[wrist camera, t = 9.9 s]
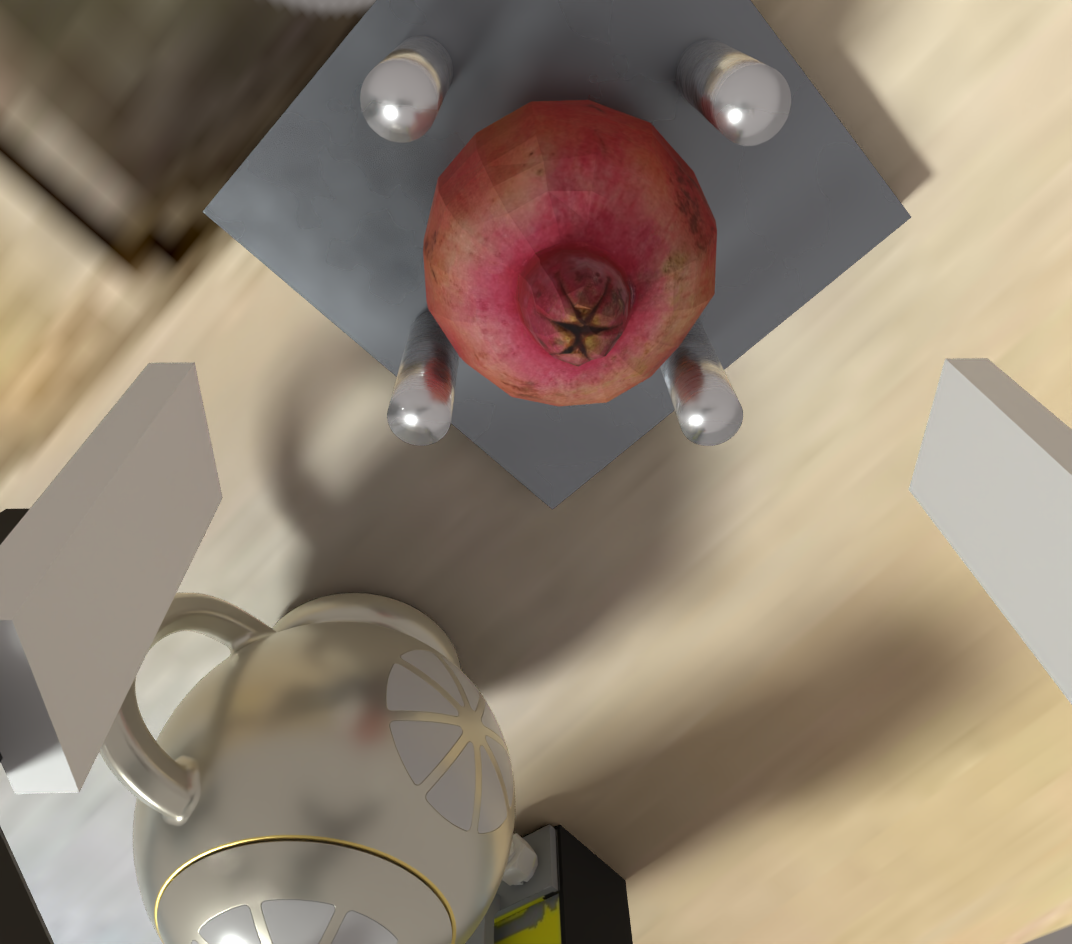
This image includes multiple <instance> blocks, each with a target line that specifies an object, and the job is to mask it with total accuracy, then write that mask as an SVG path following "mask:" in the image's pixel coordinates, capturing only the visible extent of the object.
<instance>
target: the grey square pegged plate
mask: <svg viewBox="0 0 1072 944" xmlns="http://www.w3.org/2000/svg"><path fill="white" fill-rule="evenodd" d="M564 100H590V101H593V102H596V103H599V104H601V105H604V106H607V107H609V108H612V109H615V110H617V111H620V112H623V113H626V114H628V115H631V116H634V117H636V118H639V119H642V120H644V121H647V122H650V123H651V124H652V125H653V126H654V127H655V128H656V129H657V131H658V132H659V133H660V134H661V135H662V136H663V137H664V138H665V140H666V141H667V142H668V143H669V144H670V145H671V146H672V148H673V149H674V150H675V151H676V152H677V153H678V154H679V155H680V157H681V158H682V159H683V160H684V161H685V162H686V163H687V164H688V166H689V167H690V168H691V169H692V170H693V171H694V173H695V175H696V178H697V180H698V182H699V184H700V187H701V189H702V191H703V193H704V196H705V198H706V200H707V202H708V205H709V207H710V209H711V211H712V214H713V216H714V218H715V220H716V227H717V247H716V271H715V294H714V296H713V297H712V298H711V300H710V301H709V303H708V304H707V306H706V307H705V309H704V310H703V312H702V313H701V315H700V316H699V318H698V319H697V321H696V322H695V324H694V325H693V327H692V328H691V330H690V331H689V333H688V334H687V336H686V337H685V339H684V340H683V342H682V343H681V345H680V346H679V347H678V348H677V349H676V350H675V351H674V352H673V353H672V354H671V356H670V357H669V358H668V359H667V360H666V361H665V362H664V363H663V364H662V365H661V366H660V367H659V369H658V370H657V371H656V372H655V373H654V374H653V375H652V376H651V377H650V378H648V379H646V380H644V381H643V382H641V383H639V384H638V385H636V386H634V387H632V388H631V389H629V390H627V391H626V392H624V393H622V394H621V395H619V396H617V397H615V398H614V399H612V400H610V401H609V402H607V403H595V404H583V405H571V406H554V405H549V404H544V403H539V402H534V401H529V400H524V399H519V398H514V397H511V396H510V395H508V394H507V393H506V392H504V391H503V390H502V389H500V388H499V387H498V386H496V385H495V384H493V383H492V382H491V381H489V380H488V379H487V378H485V377H484V376H483V375H481V374H480V373H479V372H477V371H476V370H474V369H473V368H472V367H470V366H469V365H468V364H466V363H465V362H464V361H463V360H462V359H461V358H460V357H459V355H458V353H457V352H456V350H455V349H454V347H453V346H452V344H451V343H450V341H449V340H448V338H447V337H446V335H445V334H444V332H443V331H442V329H441V327H440V326H439V324H438V323H437V321H436V320H435V318H434V317H433V315H432V314H431V312H430V311H429V309H428V305H427V301H426V287H425V272H424V257H423V242H424V236H425V232H426V228H427V223H428V219H429V215H430V211H431V206H432V202H433V198H434V193H435V189H436V185H437V181H438V177H439V176H440V175H441V174H442V173H443V172H444V170H445V169H446V168H447V167H448V166H449V164H450V163H451V162H452V161H453V160H454V158H455V157H456V156H457V155H458V154H459V153H460V151H461V150H462V149H463V148H464V147H465V145H466V144H467V143H468V142H469V141H470V140H471V138H472V137H473V136H474V135H475V134H476V133H477V132H479V131H480V130H482V129H484V128H485V127H487V126H489V125H491V124H492V123H494V122H496V121H498V120H499V119H501V118H503V117H505V116H506V115H508V114H510V113H512V112H513V111H515V110H517V109H519V108H520V107H522V106H524V105H526V104H527V103H529V102H531V101H564ZM203 213H205V214H206V215H207V216H208V217H209V218H211V219H212V220H213V221H214V222H215V223H216V224H218V225H219V226H220V227H221V228H222V229H223V230H225V231H226V232H227V233H228V234H229V235H231V236H232V237H233V238H234V239H235V240H236V241H238V242H239V243H240V244H241V245H242V246H243V247H245V248H246V249H247V250H248V251H249V252H250V253H252V254H253V255H254V256H255V257H256V258H258V259H259V260H260V261H261V262H262V263H263V264H265V265H266V266H267V267H268V268H269V269H270V270H272V271H273V272H274V273H275V274H276V275H278V276H279V277H280V278H281V279H282V280H283V281H285V282H286V283H287V284H288V285H289V286H290V287H292V288H293V289H294V290H295V291H296V292H297V293H299V294H300V295H301V296H302V297H303V298H305V299H306V300H307V301H308V302H309V303H310V304H312V305H313V306H314V307H315V308H316V309H317V310H319V311H320V312H321V313H322V314H323V315H325V316H326V317H327V318H328V319H329V320H330V321H332V322H333V323H334V324H335V325H336V326H337V327H339V328H340V329H341V330H342V331H343V332H344V333H346V334H347V335H348V336H349V337H350V338H352V339H353V340H354V341H355V342H356V343H357V344H359V345H360V346H361V347H362V348H363V349H364V350H366V351H367V352H368V353H369V354H370V355H372V356H373V357H374V358H375V359H376V360H377V361H379V362H380V363H381V364H382V365H383V366H384V367H386V368H387V369H388V370H389V371H390V372H391V373H393V374H394V375H395V376H396V377H397V379H396V382H395V386H394V390H393V393H392V397H391V401H390V404H389V408H388V413H387V419H388V423H389V426H390V428H391V430H392V432H393V433H394V434H395V435H396V436H397V437H398V438H399V439H401V440H402V441H404V442H406V443H409V444H412V445H419V446H423V445H430V444H433V443H435V442H437V441H439V440H440V439H442V438H443V437H444V436H445V435H446V433H447V432H448V430H449V427H450V424H453V425H454V426H455V427H456V428H457V429H458V430H460V431H461V432H462V433H463V434H464V435H466V436H467V437H468V438H469V439H470V440H471V441H473V442H474V443H475V444H476V445H477V446H478V447H480V448H481V449H482V450H483V451H484V452H485V453H487V454H488V455H489V456H490V457H491V458H493V459H494V460H495V461H496V462H497V463H498V464H500V465H501V466H502V467H503V468H504V469H505V470H507V471H508V472H509V473H510V474H511V475H513V476H514V477H515V478H516V479H517V480H518V481H520V482H521V483H522V484H523V485H524V486H525V487H527V488H528V489H529V490H530V491H531V492H532V493H534V494H535V495H536V496H537V497H538V498H540V499H541V500H542V501H543V502H544V503H545V504H547V505H548V506H549V507H550V508H551V509H554V508H555V507H556V506H557V505H559V504H560V503H561V502H562V501H563V500H565V499H566V498H567V497H568V496H570V495H571V494H572V493H573V492H575V491H576V490H577V489H578V488H579V487H581V486H582V485H583V484H584V483H586V482H587V481H588V480H589V479H590V478H592V477H593V476H594V475H595V474H597V473H598V472H599V471H600V470H602V469H603V468H604V467H605V466H606V465H608V464H609V463H610V462H611V461H613V460H614V459H615V458H616V457H618V456H619V455H620V454H621V453H622V452H624V451H625V450H626V449H627V448H629V447H630V446H631V445H632V444H633V443H635V442H636V441H637V440H638V439H640V438H641V437H642V436H643V435H645V434H646V433H647V432H648V431H649V430H651V429H652V428H653V427H654V426H656V425H657V424H658V423H659V422H660V421H662V420H663V419H664V418H665V417H667V416H668V415H669V414H670V413H672V412H673V411H674V410H675V412H676V415H677V418H678V421H679V424H680V427H681V429H682V432H683V433H684V435H685V436H686V437H687V438H688V439H689V440H690V441H692V442H693V443H696V444H698V445H703V446H713V445H718V444H721V443H723V442H725V441H727V440H729V439H730V438H731V437H733V436H734V435H735V433H736V432H737V431H738V430H739V428H740V426H741V423H742V420H743V410H742V407H741V404H740V402H739V400H738V398H737V396H736V394H735V392H734V390H733V388H732V386H731V384H730V382H729V380H728V378H727V376H726V373H725V371H724V369H726V368H727V367H728V366H729V365H730V364H732V363H733V362H734V361H735V360H737V359H738V358H739V357H740V356H742V355H743V354H744V353H745V352H746V351H748V350H749V349H750V348H751V347H753V346H754V345H755V344H756V343H757V342H759V341H760V340H761V339H762V338H764V337H765V336H766V335H767V334H769V333H770V332H771V331H772V330H773V329H775V328H776V327H777V326H778V325H780V324H781V323H782V322H783V321H784V320H786V319H787V318H788V317H789V316H791V315H792V314H793V313H794V312H796V311H797V310H798V309H799V308H800V307H802V306H803V305H804V304H805V303H807V302H808V301H809V300H810V299H811V298H813V297H814V296H815V295H816V294H818V293H819V292H820V291H821V290H823V289H824V288H825V287H826V286H827V285H829V284H830V283H831V282H832V281H834V280H835V279H836V278H837V277H838V276H840V275H841V274H842V273H843V272H845V271H846V270H847V269H848V268H850V267H851V266H852V265H853V264H854V263H856V262H857V261H858V260H859V259H861V258H862V257H863V256H864V255H866V254H867V253H868V252H869V251H870V250H872V249H873V248H874V247H875V246H877V245H878V244H879V243H880V242H881V241H883V240H884V239H885V238H886V237H888V236H889V235H890V234H891V233H893V232H894V231H895V230H896V229H897V228H899V227H900V226H901V225H902V224H904V223H905V222H906V221H907V220H908V219H910V218H911V216H910V215H909V213H908V212H907V211H906V209H905V208H904V207H903V205H902V204H901V202H900V201H899V200H898V198H897V197H896V196H895V194H894V193H893V192H892V190H891V189H890V188H889V186H888V185H887V184H886V182H885V181H884V180H883V178H882V177H881V176H880V174H879V173H878V172H877V170H876V169H875V167H874V166H873V165H872V163H871V162H870V161H869V159H868V158H867V157H866V155H865V154H864V153H863V151H862V150H861V149H860V147H859V146H858V145H857V143H856V142H855V141H854V139H853V138H852V136H851V135H850V134H849V132H848V131H847V130H846V128H845V127H844V126H843V124H842V123H841V122H840V120H839V119H838V118H837V116H836V115H835V114H834V112H833V111H832V110H831V108H830V107H829V106H828V104H827V103H826V101H825V100H824V99H823V97H822V96H821V95H820V93H819V92H818V91H817V89H816V88H815V87H814V85H813V84H812V83H811V81H810V80H809V79H808V77H807V76H806V75H805V73H804V72H803V70H802V69H801V68H800V66H799V65H798V64H797V62H796V61H795V60H794V58H793V57H792V56H791V54H790V53H789V52H788V50H787V49H786V48H785V46H784V45H783V44H782V42H781V41H780V40H779V38H778V37H777V35H776V34H775V33H774V31H773V30H772V29H771V27H770V26H769V25H768V23H767V22H766V21H765V19H764V18H763V17H762V15H761V14H760V13H759V11H758V10H757V9H756V7H755V6H754V4H753V3H752V2H751V0H376V2H375V3H374V4H373V5H372V6H371V8H370V9H369V10H368V11H367V12H366V14H365V15H364V16H363V17H362V19H361V20H360V21H359V22H358V23H357V25H356V26H355V27H354V28H353V30H352V31H351V32H350V33H349V34H348V36H347V37H346V38H345V39H344V40H343V42H342V43H341V44H340V45H339V47H338V48H337V49H336V50H335V51H334V53H333V54H332V55H331V56H330V57H329V59H328V60H327V61H326V62H325V64H324V65H323V66H322V67H321V68H320V70H319V71H318V72H317V73H316V75H315V76H314V77H313V78H312V79H311V81H310V82H309V83H308V84H307V85H306V87H305V88H304V89H303V90H302V92H301V93H300V94H299V95H298V96H297V98H296V99H295V100H294V101H293V102H292V104H291V105H290V106H289V107H288V109H287V110H286V111H285V112H284V113H283V115H282V116H281V117H280V118H279V120H278V121H277V122H276V123H275V124H274V126H273V127H272V128H271V129H270V130H269V132H268V133H267V134H266V135H265V137H264V138H263V139H262V140H261V141H260V143H259V144H258V145H257V146H256V147H255V149H254V150H253V151H252V152H251V154H250V155H249V156H248V157H247V158H246V160H245V161H244V162H243V163H242V165H241V166H240V167H239V168H238V169H237V171H236V172H235V173H234V174H233V175H232V177H231V178H230V179H229V180H228V182H227V183H226V184H225V185H224V186H223V188H222V189H221V190H220V191H219V192H218V194H217V195H216V196H215V197H214V199H213V200H212V201H211V202H210V203H209V205H208V206H207V207H206V208H205V210H204V211H203Z"/></svg>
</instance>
